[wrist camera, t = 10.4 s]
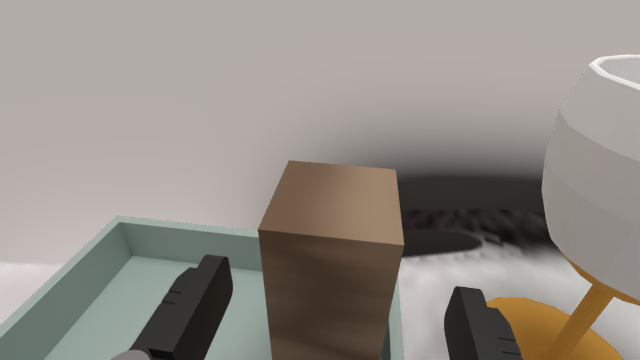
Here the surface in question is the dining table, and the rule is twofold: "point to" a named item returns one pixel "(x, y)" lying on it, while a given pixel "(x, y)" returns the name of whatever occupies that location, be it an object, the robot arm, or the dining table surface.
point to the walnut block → (330, 261)
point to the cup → (589, 211)
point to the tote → (148, 295)
